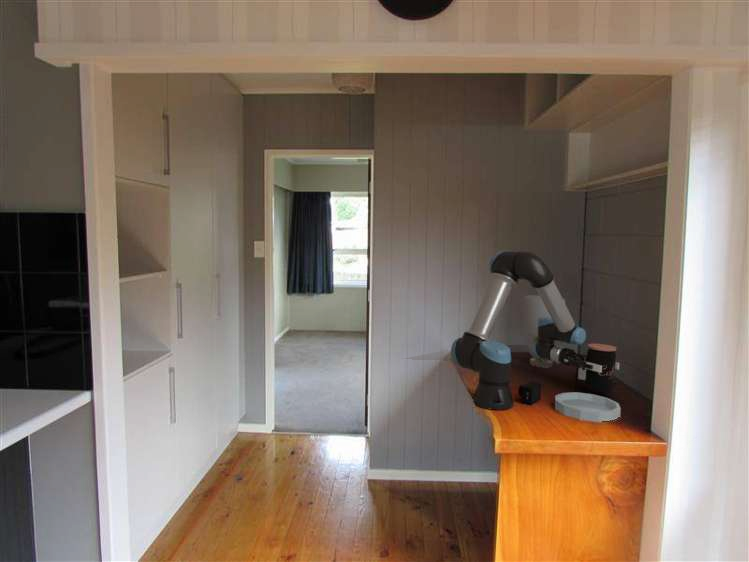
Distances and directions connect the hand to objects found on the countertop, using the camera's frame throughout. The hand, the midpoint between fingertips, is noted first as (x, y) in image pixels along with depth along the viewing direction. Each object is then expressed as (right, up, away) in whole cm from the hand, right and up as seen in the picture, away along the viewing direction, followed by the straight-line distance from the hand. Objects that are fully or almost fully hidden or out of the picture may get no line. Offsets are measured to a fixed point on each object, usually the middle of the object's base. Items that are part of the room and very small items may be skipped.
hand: (610, 367), depth 188 cm
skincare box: (+4, -11, +31) cm, 33 cm away
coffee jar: (-2, -10, +4) cm, 11 cm away
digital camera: (-34, -13, -3) cm, 36 cm away
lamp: (-9, -9, +54) cm, 55 cm away
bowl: (-15, -14, -13) cm, 24 cm away
